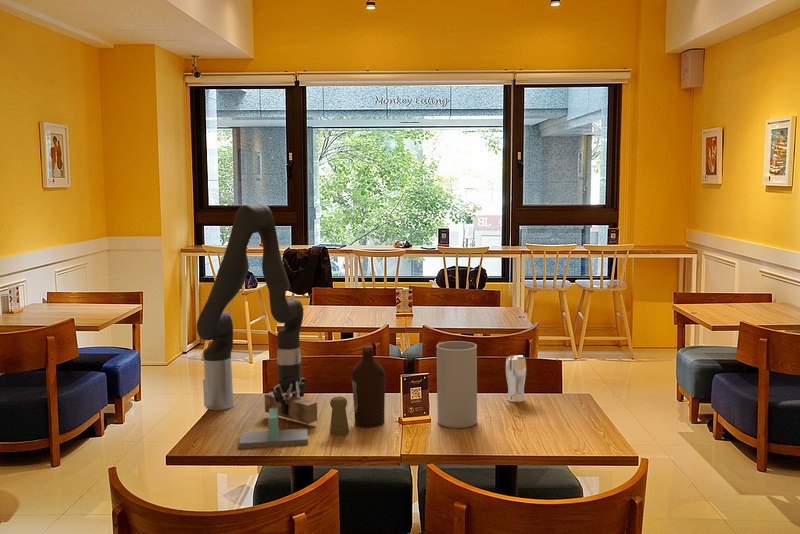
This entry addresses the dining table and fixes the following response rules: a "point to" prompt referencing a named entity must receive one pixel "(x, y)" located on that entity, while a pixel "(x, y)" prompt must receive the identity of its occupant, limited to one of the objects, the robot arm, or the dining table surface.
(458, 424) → the cylinder vase
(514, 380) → the beer glass
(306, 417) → the walnut bar
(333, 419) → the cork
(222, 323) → the robot arm
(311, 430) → the dining table surface
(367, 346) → the olive oil
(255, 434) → the balance stand
